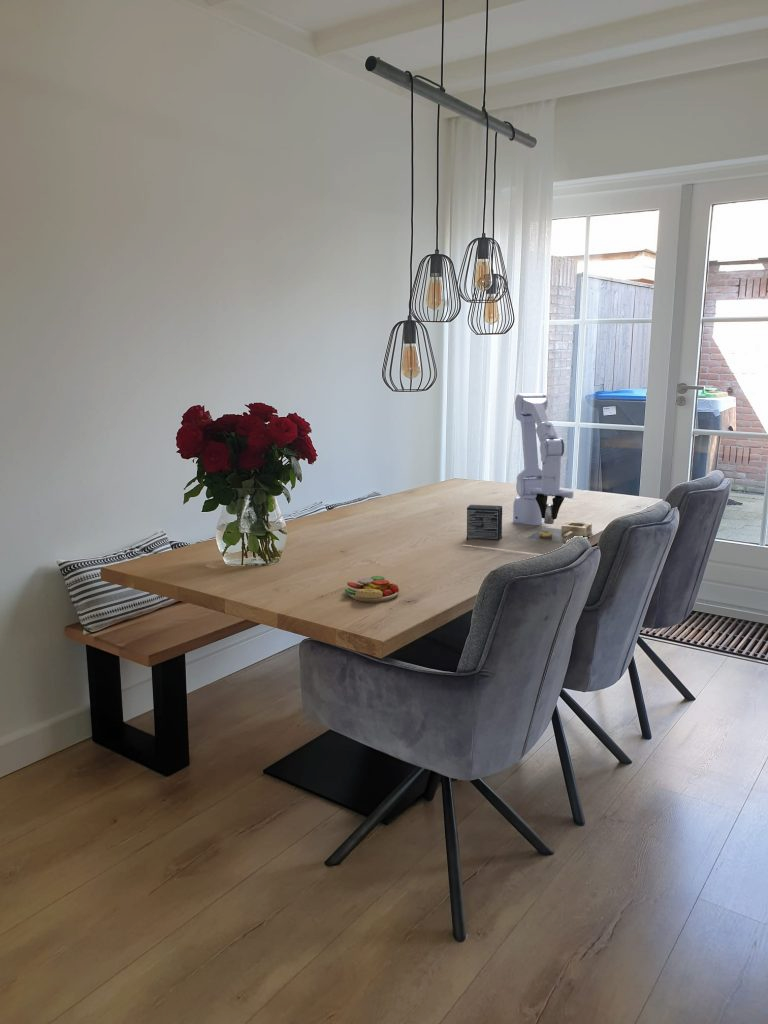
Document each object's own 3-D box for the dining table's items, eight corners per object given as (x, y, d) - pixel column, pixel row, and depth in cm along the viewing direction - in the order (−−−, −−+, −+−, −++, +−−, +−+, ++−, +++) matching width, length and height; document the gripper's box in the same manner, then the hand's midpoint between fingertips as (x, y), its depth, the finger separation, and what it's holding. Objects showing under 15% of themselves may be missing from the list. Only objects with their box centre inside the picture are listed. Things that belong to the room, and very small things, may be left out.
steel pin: (543, 523, 263) (543, 505, 261) (545, 521, 265) (546, 503, 264) (552, 524, 261) (552, 506, 260) (554, 522, 264) (555, 504, 262)
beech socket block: (561, 534, 261) (561, 525, 261) (568, 530, 268) (568, 521, 267) (584, 537, 258) (585, 528, 257) (591, 532, 264) (591, 523, 264)
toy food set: (364, 607, 193) (364, 594, 192) (334, 594, 203) (334, 581, 203) (409, 597, 200) (409, 584, 200) (378, 584, 211) (378, 572, 210)
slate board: (526, 539, 258) (526, 537, 258) (544, 528, 272) (544, 527, 272) (573, 544, 250) (573, 543, 250) (589, 533, 265) (589, 532, 265)
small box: (502, 537, 261) (503, 505, 259) (499, 542, 254) (500, 509, 252) (469, 535, 263) (470, 503, 261) (466, 540, 257) (466, 507, 255)
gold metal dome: (537, 537, 257) (537, 532, 257) (541, 535, 261) (541, 529, 261) (549, 539, 256) (549, 533, 255) (553, 536, 259) (554, 531, 259)
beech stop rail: (562, 541, 252) (563, 535, 252) (569, 537, 258) (569, 531, 257) (566, 542, 252) (566, 535, 251) (572, 537, 257) (573, 531, 257)
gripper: (524, 476, 260) (523, 518, 263) (569, 480, 253) (567, 523, 256) (532, 473, 266) (530, 514, 269) (576, 476, 259) (574, 518, 262)
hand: (549, 518), depth 263 cm, fingers closed on steel pin, 3 cm apart
